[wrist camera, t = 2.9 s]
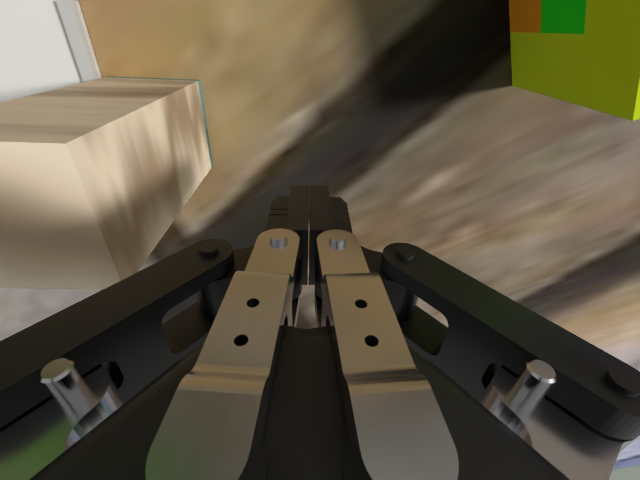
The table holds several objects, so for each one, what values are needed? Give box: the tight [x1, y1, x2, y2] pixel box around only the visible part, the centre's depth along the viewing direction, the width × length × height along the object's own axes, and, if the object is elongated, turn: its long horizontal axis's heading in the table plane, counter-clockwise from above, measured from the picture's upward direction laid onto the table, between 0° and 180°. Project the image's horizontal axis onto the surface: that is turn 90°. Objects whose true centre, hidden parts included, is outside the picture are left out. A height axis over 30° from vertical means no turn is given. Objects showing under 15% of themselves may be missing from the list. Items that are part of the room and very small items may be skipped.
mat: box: [0, 0, 102, 103], centre depth 22 cm, size 14×15×1 cm
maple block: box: [0, 76, 213, 289], centre depth 17 cm, size 6×6×14 cm
